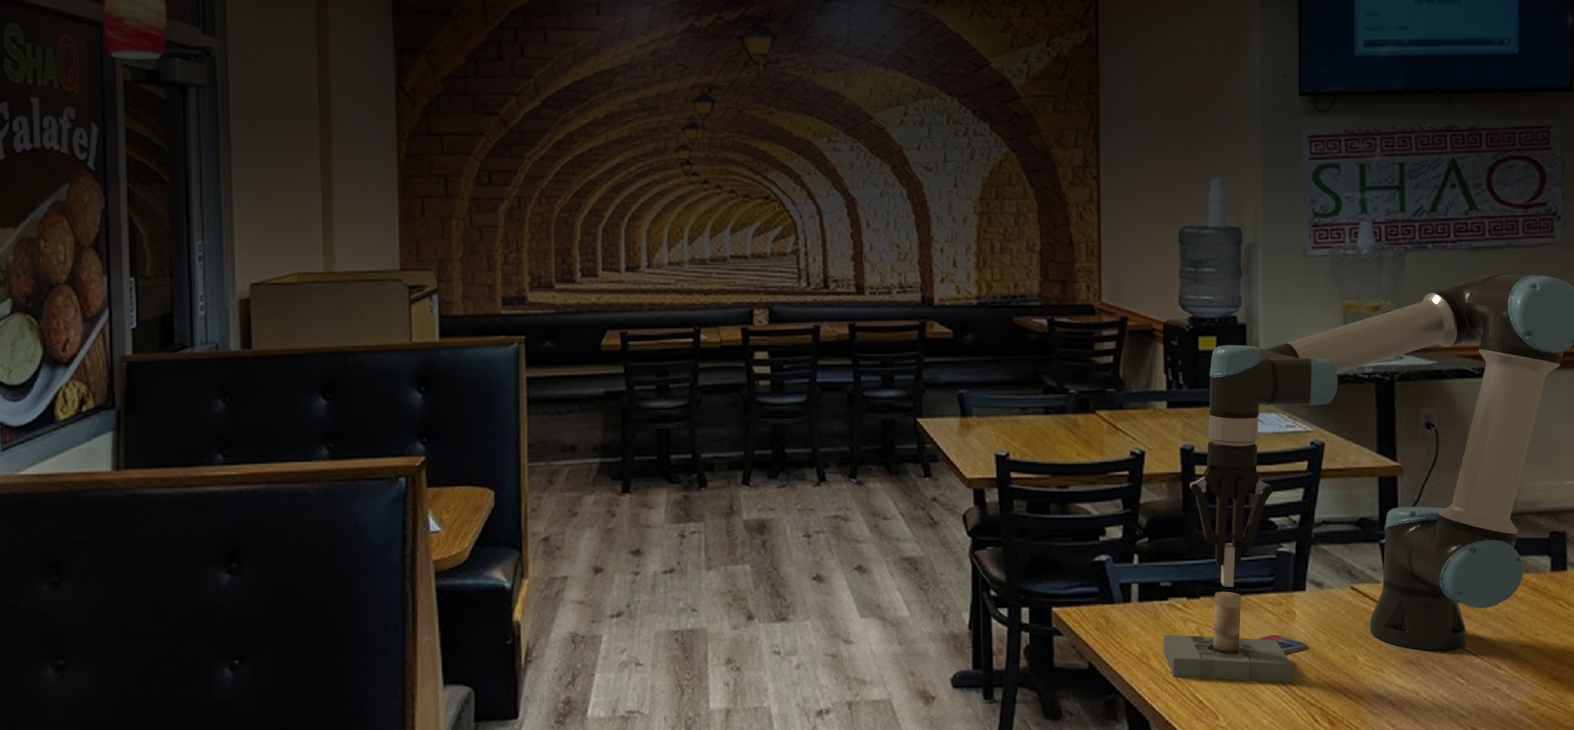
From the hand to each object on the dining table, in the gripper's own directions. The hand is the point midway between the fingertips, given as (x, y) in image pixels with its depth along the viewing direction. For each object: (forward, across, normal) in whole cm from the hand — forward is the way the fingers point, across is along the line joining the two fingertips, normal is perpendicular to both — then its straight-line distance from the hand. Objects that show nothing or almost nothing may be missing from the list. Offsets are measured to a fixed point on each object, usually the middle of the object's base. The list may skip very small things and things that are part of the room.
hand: (1227, 584), depth 207 cm
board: (+14, 0, 0) cm, 14 cm away
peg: (+14, 0, 0) cm, 14 cm away
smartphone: (+14, -8, -10) cm, 19 cm away
